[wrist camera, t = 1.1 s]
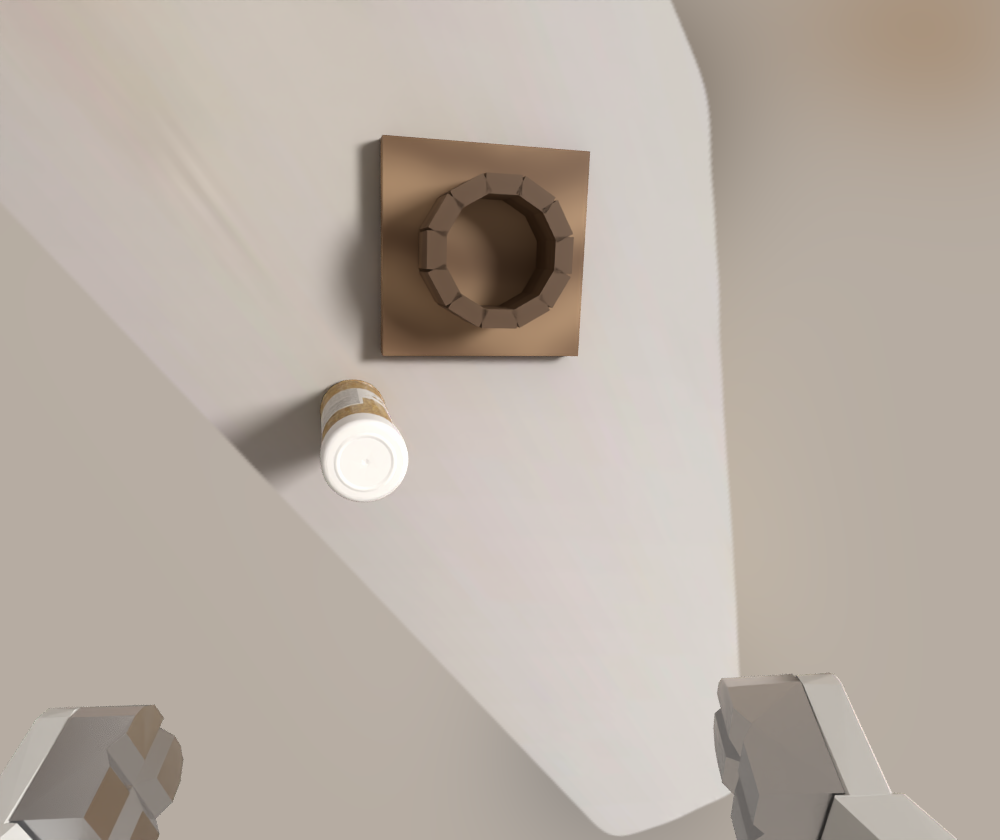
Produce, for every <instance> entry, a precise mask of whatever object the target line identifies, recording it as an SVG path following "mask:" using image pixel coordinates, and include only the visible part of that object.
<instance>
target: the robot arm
mask: <svg viewBox="0 0 1000 840" xmlns="http://www.w3.org/2000/svg"><path fill="white" fill-rule="evenodd" d="M717 695H718V699H719V703H720V707H721V709H719V710H718V711H717V712H716V713H715V716H714V742H715V751H716V756H717V762H718V767H719V771H720V775H721V779H722V783H723V784H724V785H725V786H726V787H727V788H728V789H729V790H730V791H731V792H732V793H733V794H734V798H733V805H732V812H731V819H732V823H733V827H734V830H735V834H736V838H737V840H958V839H956V838H955V837H954V836H953V835H952V834H951V833H949V832H948V831H947V830H946V829H945V828H944V827H942V826H941V825H940V824H939V823H938V822H937V821H936V820H934V819H933V818H932V817H931V816H930V815H929V814H928V813H926V812H925V811H924V810H923V809H922V808H921V807H919V806H918V805H917V804H916V803H915V802H914V801H913V800H911V799H910V798H909V797H908V796H907V795H906V794H904V793H892V792H891V790H890V788H889V785H888V783H887V781H886V779H885V777H884V775H883V772H882V770H881V768H880V766H879V764H878V762H877V759H876V757H875V755H874V753H873V751H872V748H871V746H870V744H869V742H868V740H867V738H866V735H865V733H864V731H863V729H862V727H861V724H860V722H859V720H858V718H857V716H856V713H855V711H854V709H853V707H852V705H851V702H850V700H849V698H848V696H847V694H846V692H845V689H844V688H843V685H842V683H841V681H840V680H839V679H838V678H837V677H836V676H835V675H834V674H831V673H820V674H805V675H793V674H784V675H768V676H753V677H736V678H722V679H721V680H720V682H719V684H718V691H717ZM163 719H164V717H163V716H162V714H161V713H160V712H159V710H158V709H157V708H156V706H155V705H132V706H103V707H66V708H49V709H47V710H46V711H45V712H44V713H43V714H41V715H40V716H39V717H38V718H37V719H36V720H35V721H34V723H33V725H32V726H31V728H30V729H29V731H28V733H27V734H26V736H25V737H24V739H23V741H22V742H21V744H20V745H19V747H18V749H17V750H16V751H15V753H14V755H13V756H12V758H11V760H10V761H9V763H8V764H7V766H6V767H5V769H4V771H3V772H2V774H1V775H0V840H157V839H158V837H159V830H158V826H157V821H156V818H157V817H158V816H159V815H160V814H161V813H162V812H163V811H164V810H165V809H166V808H167V807H168V806H169V805H170V804H171V803H172V802H173V800H174V797H175V794H176V792H177V789H178V786H179V784H180V781H181V774H182V766H183V756H182V750H181V746H180V744H179V742H178V741H177V739H176V737H175V736H174V735H173V734H171V733H169V732H167V731H166V730H163V729H162V728H160V726H161V723H162V721H163Z"/></svg>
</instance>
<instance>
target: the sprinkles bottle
mask: <svg viewBox="0 0 1000 840" xmlns="http://www.w3.org/2000/svg"><path fill="white" fill-rule="evenodd" d="M320 415H321V435H322V445H321V449H320V463H321V469H322V473H323V476H324V478H325V480H326V482H327V484H328V485H329V486H330V487H331V489H332V490H333V491H335V492H336V493H337V494H338V495H340V496H342V497H343V498H346V499H348V500H351V501H356V502H371V501H375V500H378V499H381V498H383V497H385V496H387V495H389V494H390V493H391V492H393V491H394V490H395V489H396V488H397V487H398V486H399V484H400V483H401V482H402V480H403V478H404V476H405V474H406V471H407V467H408V452H407V448H406V445H405V442H404V440H403V438H402V436H401V434H400V432H399V430H398V429H397V428H396V427H395V426H394V425H393V422H392V420H391V417H390V415H389V413H388V410H387V408H386V406H385V403H384V400H383V397H382V396H381V394H380V393H379V391H378V390H377V389H376V388H375V387H373V386H372V385H371V384H369V383H367V382H364V381H361V380H345V381H341V382H339V383H338V384H335V385H334V386H333V387H331V388H330V389H329V390H328V391H327V393H326V394H325V395H324V397H323V400H322V403H321V407H320Z"/></svg>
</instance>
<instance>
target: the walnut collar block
mask: <svg viewBox="0 0 1000 840" xmlns="http://www.w3.org/2000/svg"><path fill="white" fill-rule="evenodd" d="M589 160H590V152H588V151H576V150H564V149H551V148H539V147H526V146H514V145H502V144H489V143H477V142H464V141H452V140H439V139H427V138H415V137H402V136H390V135H382V137H381V353H382V355H383V356H578V345H579V328H580V311H581V294H582V278H583V261H584V244H585V227H586V211H587V194H588V177H589Z"/></svg>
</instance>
